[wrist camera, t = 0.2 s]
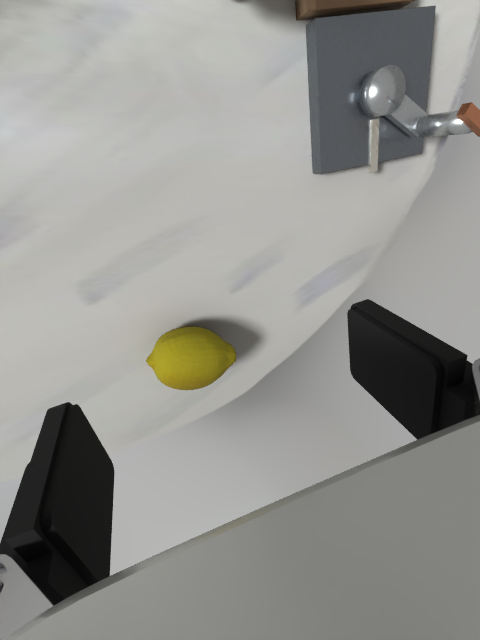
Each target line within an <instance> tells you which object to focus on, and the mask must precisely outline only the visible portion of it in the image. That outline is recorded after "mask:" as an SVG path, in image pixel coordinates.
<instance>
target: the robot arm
mask: <svg viewBox="0 0 480 640" xmlns="http://www.w3.org/2000/svg"><path fill="white" fill-rule="evenodd" d="M348 334H349V353H350V370H351V374H352V376H353V378H354V379H355V380H356V381H357V382H358V383H359V384H360V385H361V386H362V387H363V388H364V389H365V390H366V391H367V392H368V393H369V394H371V395H372V396H373V397H374V398H375V399H376V400H377V401H378V402H379V403H380V404H381V405H382V406H383V407H384V408H385V409H386V410H387V411H388V412H389V413H390V414H391V415H392V416H394V418H396V419H397V420H398V421H399V422H400V423H401V424H402V425H403V426H404V427H405V428H406V429H407V430H408V431H409V432H410V433H411V434H412V435H413V436H414V437H415V438H416V439H417V440H416V441H414V442H412V443H409V444H407V445H405V446H402V447H400V448H398V449H396V450H393V451H391V452H388V453H386V454H384V455H381V456H379V457H377V458H375V459H372V460H370V461H368V462H365V463H363V464H361V465H358V466H356V467H354V468H351V469H349V470H347V471H344V472H342V473H340V474H338V475H335V476H333V477H331V478H329V479H326V480H324V481H322V482H319V483H317V484H315V485H313V486H311V487H308V488H305V489H303V490H301V491H299V492H296V493H294V494H292V495H290V496H287V497H285V498H283V499H280V500H278V501H276V502H274V503H271V504H269V505H267V506H265V507H262V508H260V509H258V510H255V511H253V512H251V513H249V514H247V515H244V516H242V517H240V518H237V519H235V520H233V521H231V522H228V523H226V524H224V525H222V526H219V527H217V528H215V529H213V530H210V531H208V532H206V533H204V534H202V535H199V536H197V537H195V538H192V539H190V540H188V541H186V542H183V543H181V544H179V545H177V546H175V547H172V548H170V549H168V550H166V551H163V552H161V553H159V554H157V555H155V556H152V557H151V558H148V559H146V560H144V561H142V562H140V563H137V564H135V565H133V566H131V567H129V568H127V569H124V570H122V571H120V572H118V573H116V574H114V575H111V576H110V554H111V533H112V510H113V490H114V489H113V488H114V467H113V463H112V461H111V459H110V458H109V456H108V454H107V452H106V451H105V449H104V447H103V446H102V444H101V442H100V440H99V439H98V437H97V435H96V434H95V432H94V430H93V429H92V427H91V425H90V423H89V422H88V420H87V418H86V417H85V415H84V413H83V411H82V410H81V408H80V407H79V405H77V404H76V405H72V404H71V403H69V402H67V403H64V404H61V405H58V406H55V407H53V408H50V409H48V411H47V413H46V416H45V419H44V422H43V425H42V428H41V431H40V434H39V437H38V440H37V443H36V446H35V449H34V452H33V455H32V458H31V462H30V463H29V464H28V465H27V467H26V469H25V471H24V474H23V477H22V480H21V483H20V487H19V489H18V492H17V495H16V498H15V501H14V504H13V507H12V510H11V513H10V516H9V519H8V522H7V525H6V528H5V531H4V534H3V537H2V540H1V543H0V640H480V359H478V360H476V361H475V362H474V363H473V364H472V363H470V362H468V361H467V355H466V354H464V353H462V352H461V351H459V350H457V349H455V348H454V347H452V346H450V345H448V344H447V343H445V342H443V341H441V340H440V339H438V338H436V337H434V336H433V335H431V334H429V333H427V332H426V331H424V330H422V329H420V328H418V327H416V326H415V325H413V324H411V323H410V322H408V321H406V320H404V319H403V318H401V317H399V316H397V315H396V314H393V313H392V312H390V311H389V310H387V309H385V308H383V307H381V306H380V305H378V304H376V303H375V302H373V301H371V300H368V299H367V300H364V301H361V302H358V303H355V304H353V305H352V306H351V309H350V310H348Z"/></svg>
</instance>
